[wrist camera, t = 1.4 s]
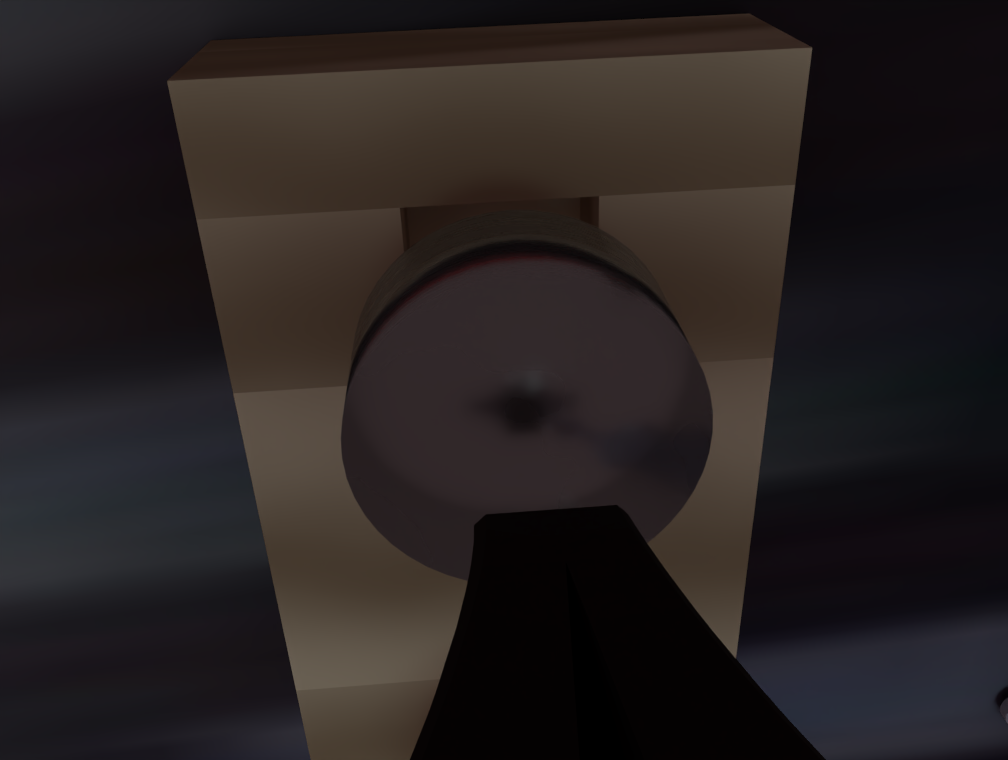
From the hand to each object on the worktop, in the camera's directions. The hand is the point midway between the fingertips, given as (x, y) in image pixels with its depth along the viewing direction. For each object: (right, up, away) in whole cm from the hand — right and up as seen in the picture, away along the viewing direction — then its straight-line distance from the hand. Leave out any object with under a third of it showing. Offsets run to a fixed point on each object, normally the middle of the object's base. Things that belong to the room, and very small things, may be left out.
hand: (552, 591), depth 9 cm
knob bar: (0, -4, +14) cm, 14 cm away
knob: (0, +3, +6) cm, 7 cm away
